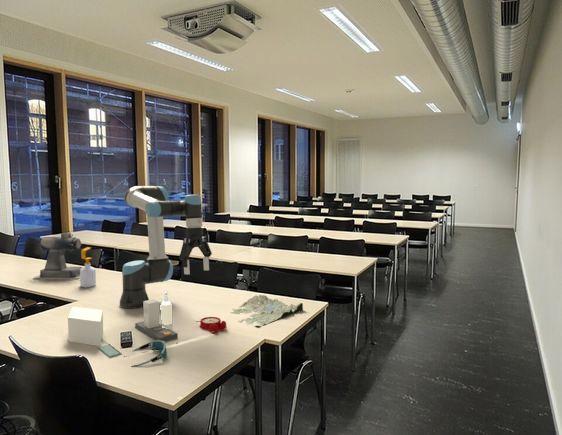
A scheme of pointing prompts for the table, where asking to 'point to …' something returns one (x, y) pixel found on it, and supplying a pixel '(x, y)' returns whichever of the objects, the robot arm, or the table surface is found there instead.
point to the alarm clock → (212, 324)
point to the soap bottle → (87, 272)
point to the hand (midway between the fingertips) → (197, 272)
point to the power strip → (157, 332)
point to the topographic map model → (272, 307)
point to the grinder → (59, 257)
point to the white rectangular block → (85, 326)
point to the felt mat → (109, 350)
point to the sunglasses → (158, 346)
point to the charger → (151, 313)
